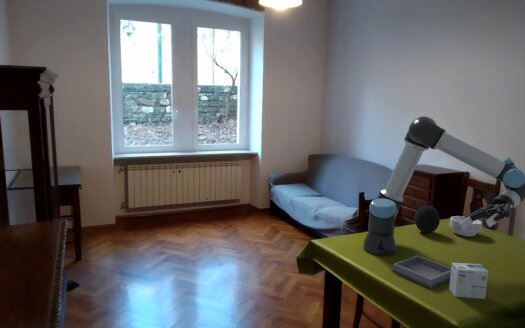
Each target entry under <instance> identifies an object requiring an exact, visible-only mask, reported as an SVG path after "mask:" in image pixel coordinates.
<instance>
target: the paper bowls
mask: <svg viewBox="0 0 525 328" xmlns="http://www.w3.org/2000/svg"><path fill="white" fill-rule="evenodd" d="M465 219H466V218H465V216H463V215H462V216H461V215H455V216H451V217H450V219H449V227H450V228H451V229H452V230H453V232H454V233H455V234H457V235H459V236H463V237H470V238H471V237H474V236H475V235H477V234H479V233H481V232H482V227H483V222H482V221H481V220H480V219H477V220H475V221H473V223H472V224H470V225H469V226H467V227H466V228H465V229H463V230H462V229H461V227H460V226H459V223H461V222H462V221H463V220H465Z"/></svg>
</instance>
